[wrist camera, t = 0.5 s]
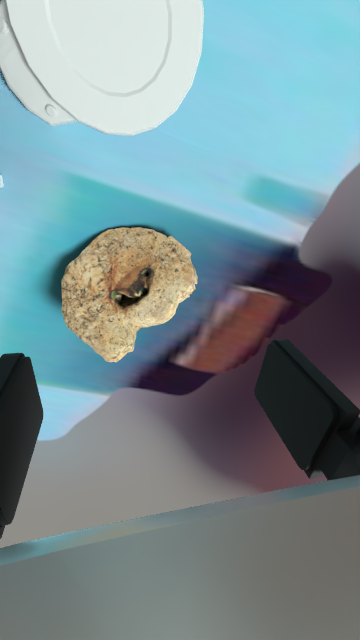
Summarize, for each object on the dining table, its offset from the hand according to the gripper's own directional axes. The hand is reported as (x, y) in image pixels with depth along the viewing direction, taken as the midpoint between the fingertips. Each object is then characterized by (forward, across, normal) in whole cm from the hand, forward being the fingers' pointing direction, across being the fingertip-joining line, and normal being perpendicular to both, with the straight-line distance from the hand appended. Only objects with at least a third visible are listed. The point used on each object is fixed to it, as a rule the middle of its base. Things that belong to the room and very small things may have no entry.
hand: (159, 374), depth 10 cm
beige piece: (+30, +1, +8) cm, 31 cm away
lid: (+29, +3, -18) cm, 35 cm away
